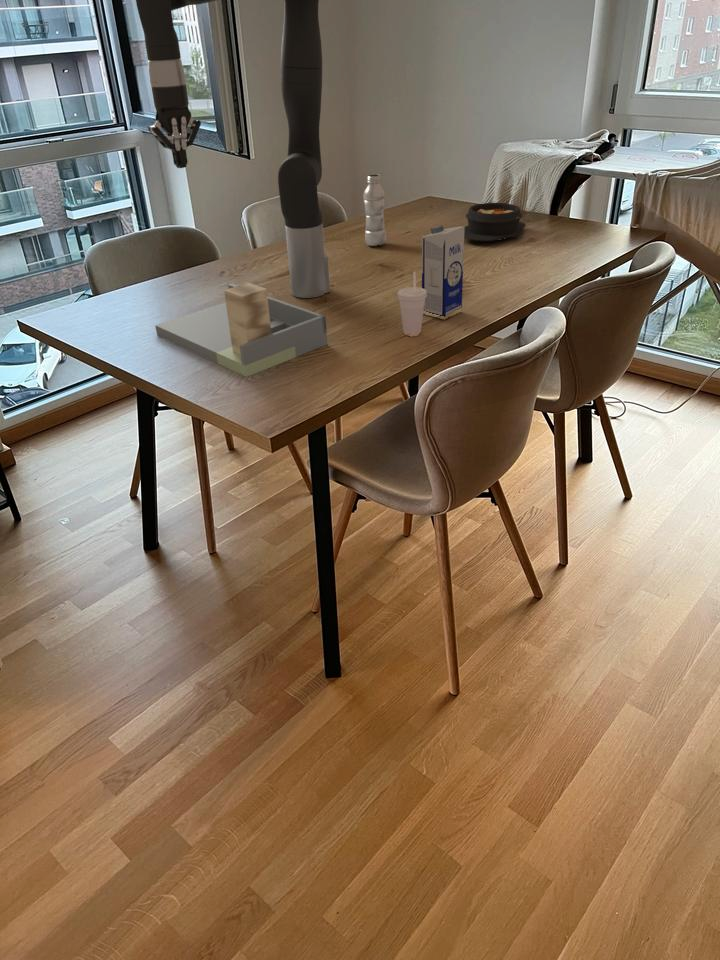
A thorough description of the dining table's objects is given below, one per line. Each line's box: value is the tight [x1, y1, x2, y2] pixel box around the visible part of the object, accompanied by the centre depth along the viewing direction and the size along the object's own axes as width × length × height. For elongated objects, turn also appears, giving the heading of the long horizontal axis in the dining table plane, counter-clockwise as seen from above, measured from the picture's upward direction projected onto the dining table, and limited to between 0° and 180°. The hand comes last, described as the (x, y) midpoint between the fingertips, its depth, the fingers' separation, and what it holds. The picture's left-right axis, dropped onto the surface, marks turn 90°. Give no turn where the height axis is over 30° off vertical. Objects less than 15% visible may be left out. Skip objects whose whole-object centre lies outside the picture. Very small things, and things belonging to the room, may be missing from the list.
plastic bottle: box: [363, 173, 387, 247], centre depth 223 cm, size 6×7×20 cm
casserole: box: [464, 202, 527, 242], centre depth 230 cm, size 25×19×8 cm
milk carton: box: [421, 225, 465, 317], centre depth 173 cm, size 7×7×20 cm
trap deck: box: [154, 283, 328, 378], centre depth 168 cm, size 22×34×6 cm, turn 44°
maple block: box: [223, 282, 271, 355], centre depth 154 cm, size 6×6×13 cm
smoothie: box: [396, 270, 427, 335], centre depth 165 cm, size 6×6×14 cm
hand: (181, 167), depth 175 cm, fingers closed
